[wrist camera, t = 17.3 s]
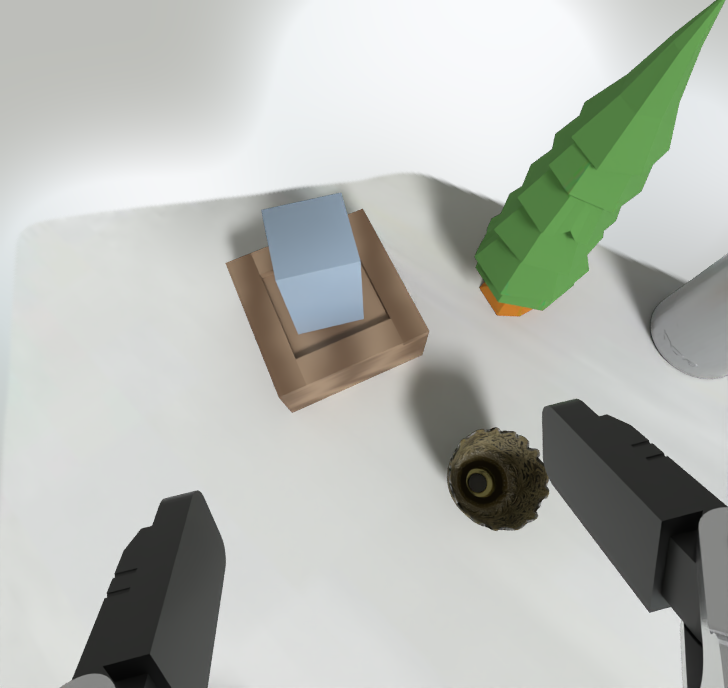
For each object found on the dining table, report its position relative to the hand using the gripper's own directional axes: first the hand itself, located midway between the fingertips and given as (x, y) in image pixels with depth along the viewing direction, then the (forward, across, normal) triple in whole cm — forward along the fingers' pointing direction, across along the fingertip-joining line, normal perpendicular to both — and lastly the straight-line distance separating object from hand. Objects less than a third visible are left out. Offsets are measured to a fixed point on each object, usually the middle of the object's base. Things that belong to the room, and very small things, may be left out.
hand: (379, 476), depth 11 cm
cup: (+23, -9, +24) cm, 34 cm away
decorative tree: (+35, -18, +11) cm, 41 cm away
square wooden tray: (+36, 0, +11) cm, 38 cm away
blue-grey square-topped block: (+32, 0, +6) cm, 33 cm away
